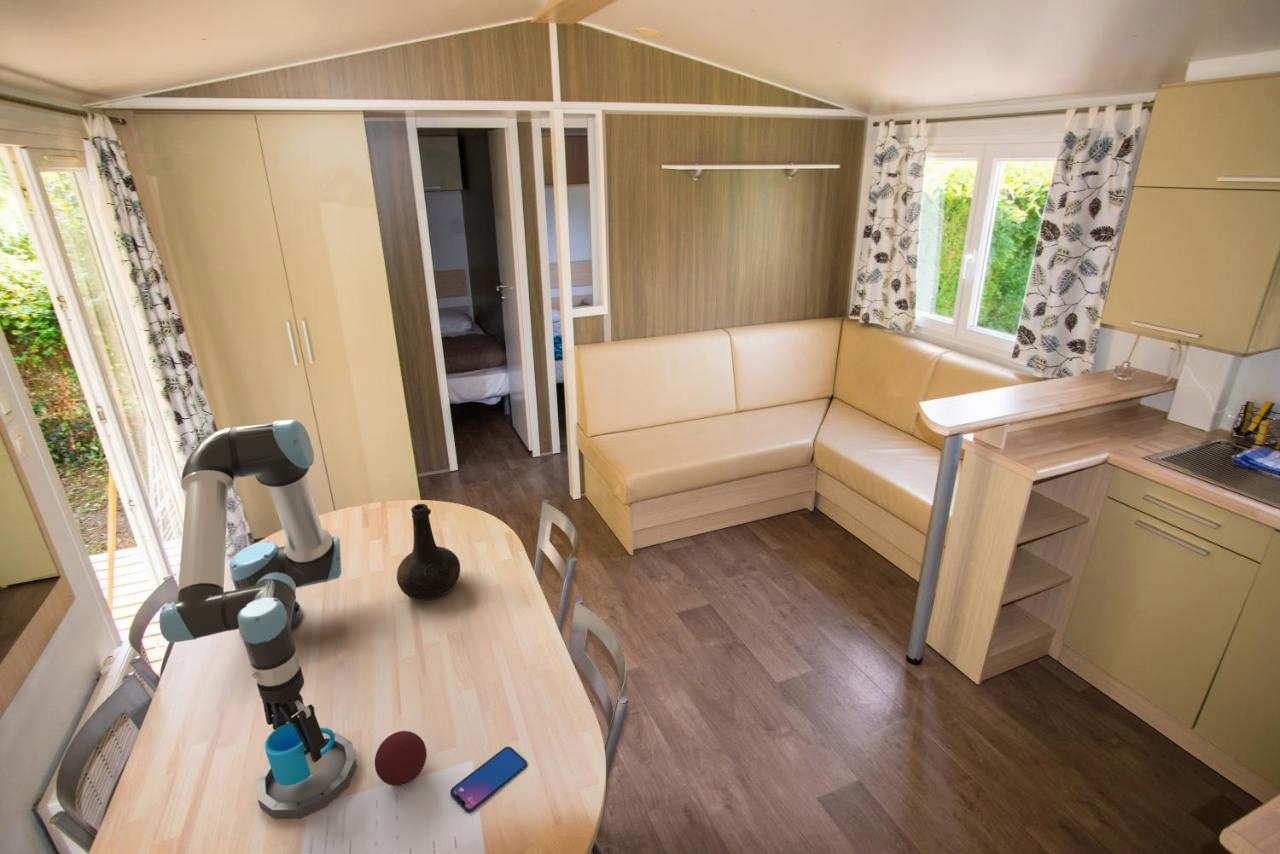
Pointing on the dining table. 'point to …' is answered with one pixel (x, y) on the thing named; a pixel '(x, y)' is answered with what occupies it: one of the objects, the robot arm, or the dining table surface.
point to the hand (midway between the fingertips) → (303, 760)
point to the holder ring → (309, 784)
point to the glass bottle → (427, 562)
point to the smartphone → (488, 779)
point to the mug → (290, 754)
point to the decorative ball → (400, 758)
